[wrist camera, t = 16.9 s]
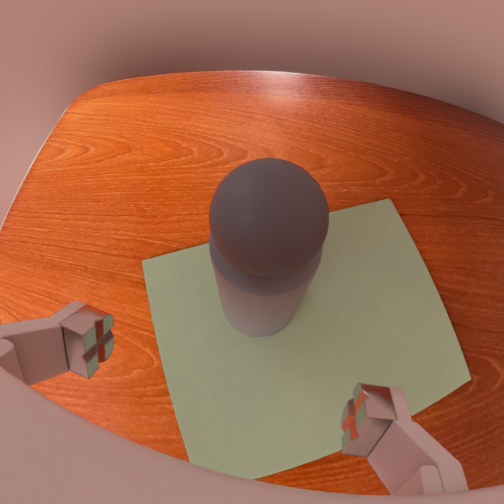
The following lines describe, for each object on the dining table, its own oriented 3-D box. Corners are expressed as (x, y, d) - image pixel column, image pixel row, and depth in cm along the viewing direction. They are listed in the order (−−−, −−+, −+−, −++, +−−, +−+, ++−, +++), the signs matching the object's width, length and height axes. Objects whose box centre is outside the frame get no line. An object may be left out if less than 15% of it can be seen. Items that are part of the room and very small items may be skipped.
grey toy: (233, 346, 19) (217, 268, 9) (213, 277, 21) (184, 145, 11) (306, 324, 20) (373, 226, 9) (282, 258, 22) (312, 121, 11)
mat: (201, 489, 15) (200, 491, 15) (143, 263, 22) (141, 260, 22) (467, 379, 18) (471, 378, 18) (387, 201, 25) (389, 197, 25)
